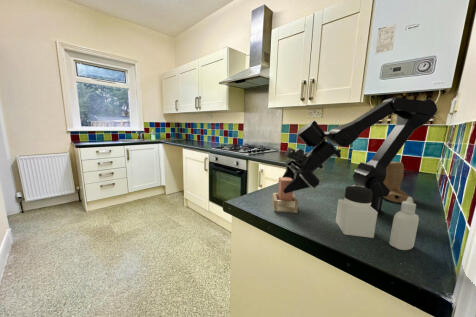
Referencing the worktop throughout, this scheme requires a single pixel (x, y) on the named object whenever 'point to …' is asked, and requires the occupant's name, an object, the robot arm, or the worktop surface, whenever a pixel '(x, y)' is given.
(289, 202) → the birch collar
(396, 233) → the eye dropper bottle
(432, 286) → the worktop surface
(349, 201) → the medicine bottle
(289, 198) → the red peg
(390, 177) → the brown angle bracket
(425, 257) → the worktop surface
